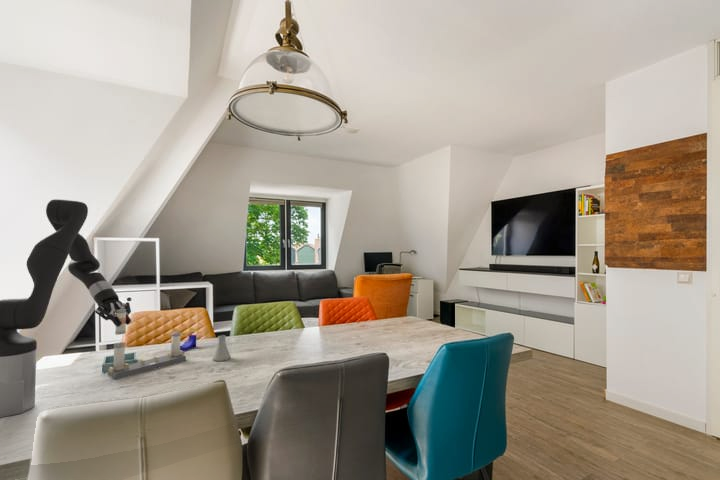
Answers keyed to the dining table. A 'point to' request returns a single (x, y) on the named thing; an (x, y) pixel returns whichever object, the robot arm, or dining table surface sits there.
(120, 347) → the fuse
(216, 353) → the flask
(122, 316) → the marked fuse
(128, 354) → the tray
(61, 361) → the dining table surface
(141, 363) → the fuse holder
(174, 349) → the fuse
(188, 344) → the blue shoe
